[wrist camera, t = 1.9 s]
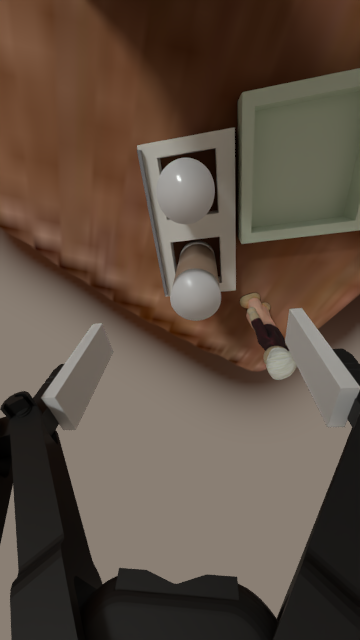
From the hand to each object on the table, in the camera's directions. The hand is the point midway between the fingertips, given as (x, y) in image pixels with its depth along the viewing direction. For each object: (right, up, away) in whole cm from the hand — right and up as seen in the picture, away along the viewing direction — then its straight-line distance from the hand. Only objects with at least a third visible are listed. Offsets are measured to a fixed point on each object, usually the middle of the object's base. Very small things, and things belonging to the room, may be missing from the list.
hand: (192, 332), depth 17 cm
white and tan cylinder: (+1, +9, +13) cm, 15 cm away
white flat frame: (+1, +12, +10) cm, 16 cm away
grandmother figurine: (+10, +3, +16) cm, 19 cm away
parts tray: (+11, +16, +7) cm, 21 cm away
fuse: (0, +15, +8) cm, 18 cm away
